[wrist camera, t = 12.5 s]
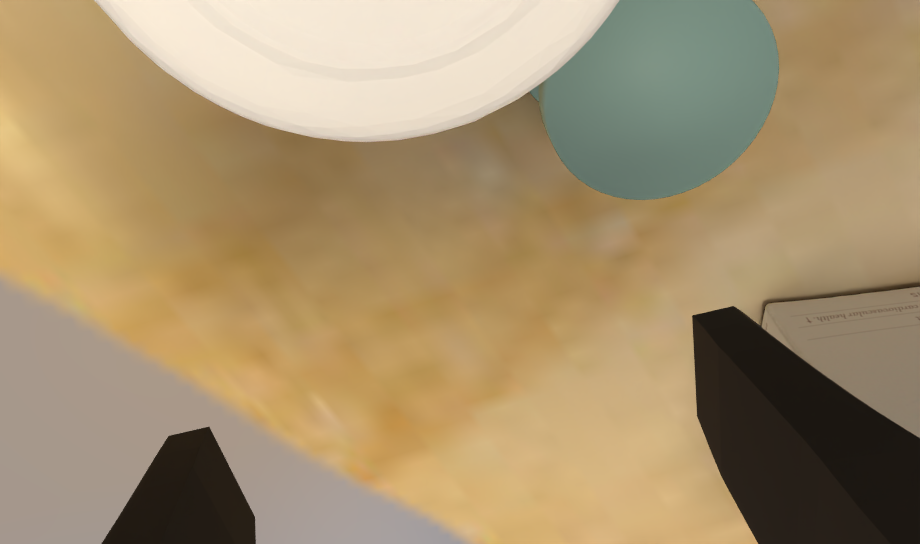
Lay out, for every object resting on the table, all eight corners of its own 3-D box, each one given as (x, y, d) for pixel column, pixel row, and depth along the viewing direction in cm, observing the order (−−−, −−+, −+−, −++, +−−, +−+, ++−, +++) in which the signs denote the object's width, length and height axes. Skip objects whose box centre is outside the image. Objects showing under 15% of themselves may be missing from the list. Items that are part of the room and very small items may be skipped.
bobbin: (694, -103, 19) (781, -52, 15) (701, 88, 22) (777, 171, 18) (491, -56, 19) (529, 7, 16) (522, 130, 22) (561, 221, 18)
